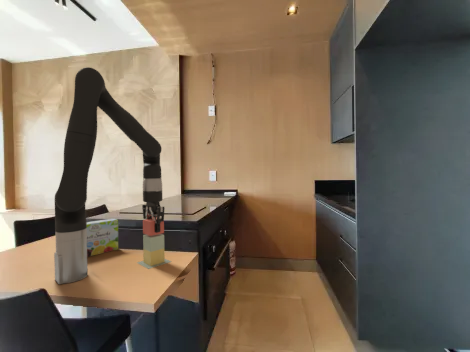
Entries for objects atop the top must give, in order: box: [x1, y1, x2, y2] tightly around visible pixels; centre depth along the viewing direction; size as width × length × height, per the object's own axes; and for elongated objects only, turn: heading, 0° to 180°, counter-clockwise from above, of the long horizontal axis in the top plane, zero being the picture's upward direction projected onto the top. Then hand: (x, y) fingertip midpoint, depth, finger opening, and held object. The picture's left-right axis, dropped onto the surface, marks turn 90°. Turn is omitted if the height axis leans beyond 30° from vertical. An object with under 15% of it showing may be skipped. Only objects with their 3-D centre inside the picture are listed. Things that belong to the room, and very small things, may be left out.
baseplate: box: [136, 258, 172, 270], centre depth 98 cm, size 10×10×1 cm
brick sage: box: [142, 233, 165, 252], centre depth 98 cm, size 6×6×6 cm
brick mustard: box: [142, 248, 166, 266], centre depth 98 cm, size 6×6×6 cm
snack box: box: [86, 218, 119, 258], centre depth 112 cm, size 21×6×15 cm, turn 143°
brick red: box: [142, 217, 165, 236], centre depth 98 cm, size 6×6×6 cm
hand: (153, 230), depth 98 cm, fingers closed on brick red, 6 cm apart
